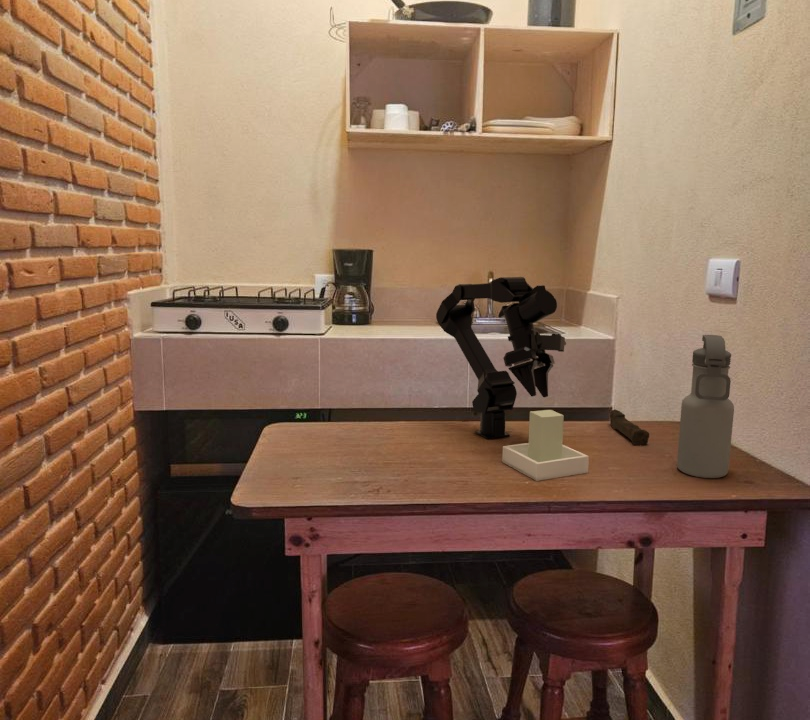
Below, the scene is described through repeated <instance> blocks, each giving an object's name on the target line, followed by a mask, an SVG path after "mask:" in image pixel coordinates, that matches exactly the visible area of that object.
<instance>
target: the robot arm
mask: <svg viewBox="0 0 810 720" xmlns="http://www.w3.org/2000/svg"><path fill="white" fill-rule="evenodd" d="M476 299H490V300H491V301H493V302H496V303H501V304H502V303H512V304H511V305H503V306H501V310H500V311H499V313H498V318H504V319H505V322H506V325H507V329H508V333H509V336H507V341H508V342H510V343H511V346H512V347H513V350H511V351H508V352H505V354H504V356H503V357H502V358H503V361H504V366H505V367H508V371H510V372H511V374H512V375H513V376H514V377H515V378H516V379H517V381H518V382H519V383H520V384H521V385H522V387H523V389H525V390H526V392H527V393H528V394H529V396H530V397H536V396H537V391H538V392H539V394H540V395H541V397H543V398H547V397H548V396H549V373H550V371H551V370H552V369H553V367H554V364H556V362H555V358H554V356H553V355H552V354H551V353H548V352H546V351H557V352H561V353H563V352H565V346H566V345H567V341H566V337H565V336H562V334H561V333H553V332H552V334H551V335H550V334H540V331H538V330H536V328H535V323H538V322H539V321H541V320H544V319H545V318H548V317H549V316H551V315H552V314H555V313H556V311H557V308H558V301H557V298H555V297H554V295H553V294H552V293H551V292H550V291H549V290H547V288H546V286H545V285H543V284H542V285H541V284H540V285H536V286H534V287H533V286H531V285H530V284H529V283H528V282H527V280H526V278H525V277H524V276H507V277H506V276H505V277H497V278H495V279H493V280H491V281H490V282H488V283H476V284H475V283H473V284H472V283H461V284H460V283H459V284H457V285H455V286H454V287H453V290H452V291H451V293H449V295H448V296H446V297H445V298H444V299H442V301H441V302H440V305H439V307H438V309H437V310H436V315H435V319H436V322H437V323H438V326H439V327H440V328H441V329H442V330H443V332H445V333H446V334H448V335H450V337H452V338H454V339H455V342H457V344H458V346H459V348H460V350H461V352H462V353H463V355H464V357H465V359H466V361H467V363H468V364H469V365H470V368H471V369H472V372H473V373H474V374H475V377H476V378H477V380H478V382H477V388H476V389H477V390H476V391H477V393H478V394H477V395H476V396H475V398H474V399H473V400H472V402H471V403H472V408H473V410H474V411H475V412H477V413H480V419H479V420H480V423H479V425H480V426H479V429H476V430H475V429H474V433H475V434H477V435H479V436H480V437H482V438H485V439H486V440H491V439H498V438H507V437H510V436H511V433H509V432H507V431H506V411H512V410H513V409H514V406H515V402H516V398H517V396H518V395H517V394H518V392H517V388H516V386H515V381H514V380H513V379H512V378H511V376H510V373H509V372H508V371H507V370H501V371H499V370H497V369H496V367H495V365H494V364H493V363H492V360H491V359H490V357H489V356H488V353H487V351H486V350H485V349H484V346H482V344H481V341H480V340H479V339H478V336H477V335H476V334H475V331H474V330H473V328H472V325H473V316H472V315H473V313H474V311H475V309H476V308H475V301H476ZM461 301H466V302H465V303H464V304H459V303H460V302H461Z"/></svg>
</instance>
